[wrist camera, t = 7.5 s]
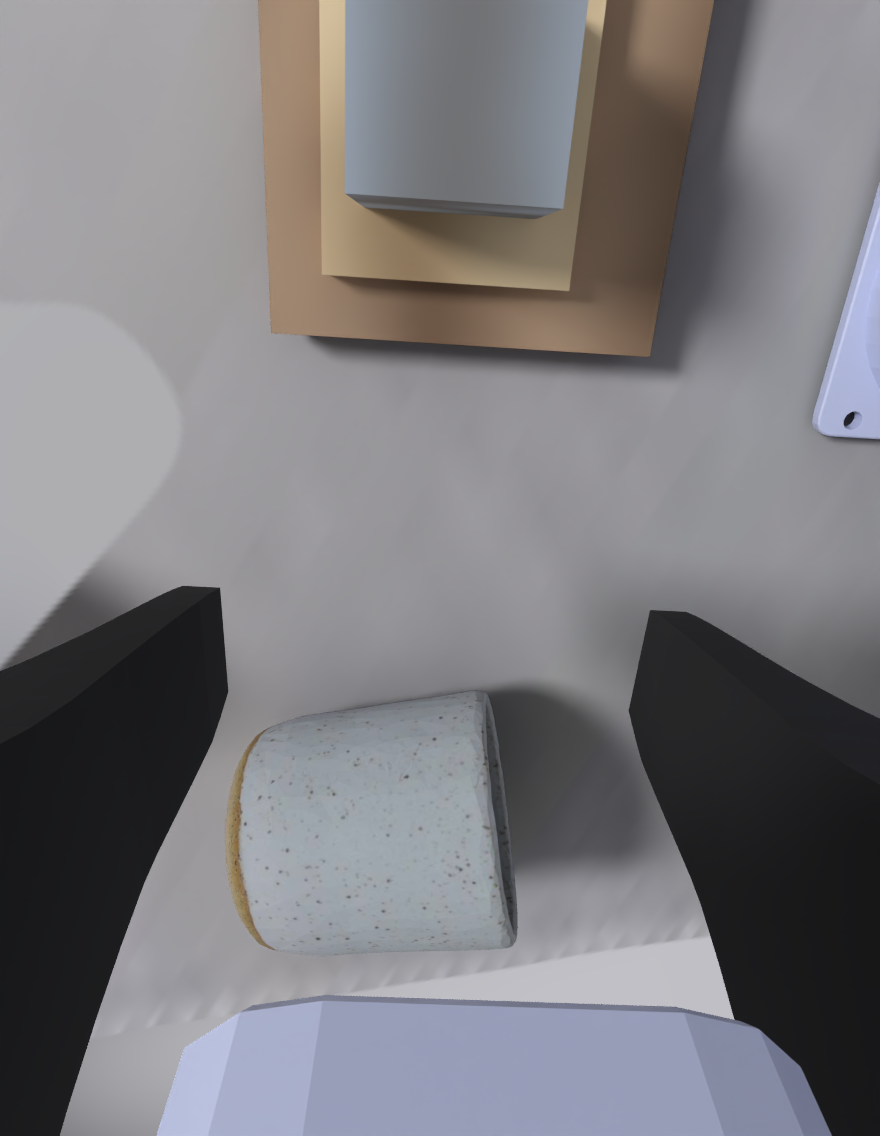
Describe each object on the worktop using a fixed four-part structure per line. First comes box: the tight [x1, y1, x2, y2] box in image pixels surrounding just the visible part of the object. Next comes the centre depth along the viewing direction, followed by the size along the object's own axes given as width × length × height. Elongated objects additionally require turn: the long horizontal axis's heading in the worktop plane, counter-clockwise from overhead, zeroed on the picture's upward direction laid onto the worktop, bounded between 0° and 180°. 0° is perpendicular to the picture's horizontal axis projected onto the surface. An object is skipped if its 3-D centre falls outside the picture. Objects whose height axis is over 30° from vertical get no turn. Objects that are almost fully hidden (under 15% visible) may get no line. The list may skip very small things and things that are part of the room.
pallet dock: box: [258, 0, 714, 357], centre depth 16 cm, size 10×12×2 cm
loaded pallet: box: [319, 0, 607, 291], centre depth 14 cm, size 6×7×5 cm
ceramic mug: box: [225, 691, 518, 956], centre depth 23 cm, size 11×8×8 cm
